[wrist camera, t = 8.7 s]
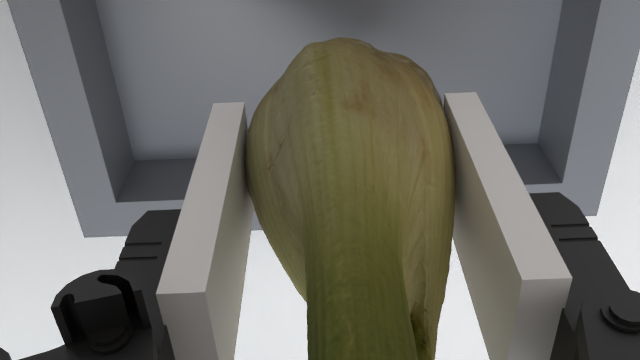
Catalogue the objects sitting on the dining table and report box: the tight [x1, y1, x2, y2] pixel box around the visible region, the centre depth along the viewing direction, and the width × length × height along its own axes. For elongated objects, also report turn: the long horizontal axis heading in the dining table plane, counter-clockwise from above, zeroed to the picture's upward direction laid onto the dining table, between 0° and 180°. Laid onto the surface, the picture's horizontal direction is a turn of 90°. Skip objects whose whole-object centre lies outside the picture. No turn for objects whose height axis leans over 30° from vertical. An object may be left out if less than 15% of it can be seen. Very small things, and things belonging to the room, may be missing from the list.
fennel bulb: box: [245, 37, 456, 360], centre depth 11 cm, size 6×5×12 cm
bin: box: [7, 0, 640, 238], centre depth 22 cm, size 14×20×4 cm
